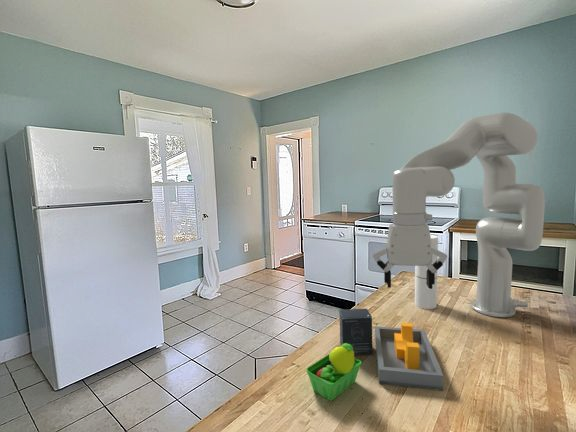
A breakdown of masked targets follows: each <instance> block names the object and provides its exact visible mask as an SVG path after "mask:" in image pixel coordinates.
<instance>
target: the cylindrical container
mask: <svg viewBox="0 0 576 432" xmlns="http://www.w3.org/2000/svg"><path fill="white" fill-rule="evenodd" d="M430 237H431V247H432V248H434V249H436V250H439V236H438V235H435V234H430ZM438 258H439V257H438V256H436V255H434V254H432V262H431V264H434V263H435V262H436V261H437V260H438ZM427 269H428V268H427V266H426V265H425V266H414V306H415V307H417V308H420V309H423V308H424V310H433V309H436V308H437V300H438V299H437V298H438V297H437V296H438V294H437V293H438V271H437V272H436V273H435V284H432V289H430V288H428V286H427V284H426V282H427Z"/></svg>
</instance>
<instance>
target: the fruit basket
mask: <svg viewBox="0 0 576 432" xmlns="http://www.w3.org/2000/svg"><path fill="white" fill-rule="evenodd" d="M361 365H362V361H361V360H360V359H357V358H356V357H355V355H354V351H353V347H352V346H351V345H350V344H347V343H345V344H342V345H340V346H337V347H334V348H333V349H332V350H331V351H330V353H328V354H326V356H324V357H321V358H320V359H319V360H318V361H316V362H315V363H313V364H311V365H309V366H308V367H307V368H306V369H305V370H306V373H307V375H308V377H309V381H310V384H311V387H312V389H313V391H314V392H316V393H318V394H319V395H320V396H322V397H323V398H325V399H327V400H328V401H329V402H332V401H333V400H335V399H336V397H338V396H340V395H341V394H342V393H343V392H344V391H346V390H347V389H348V388H349V387H350V386H352V385H354V384H355V383H356V380H357V376H358V374H359V369H360V368H361Z"/></svg>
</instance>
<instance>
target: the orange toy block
mask: <svg viewBox="0 0 576 432" xmlns="http://www.w3.org/2000/svg"><path fill="white" fill-rule="evenodd" d="M400 328H401V334H399V333H394V346H395V351H396V356H397V358H404V360H405V364H406V369H412V370H419V351H420V347H419V344H418V343H413V329H414V328H413V324H412V322H400Z"/></svg>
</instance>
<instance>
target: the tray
mask: <svg viewBox="0 0 576 432" xmlns="http://www.w3.org/2000/svg"><path fill="white" fill-rule="evenodd" d="M394 333H399V334H401V327H390V326H378V325H377V326H376V325H375V326H374V343H375V344H374V346H375V354H376V355H375V356H376V367H377V375H378V376H377V378H378V385H379V384H380V385H387V386H397V387H406V388H414V389H424V390H433V391H442V392H443V391H444V374H443V372H442V369H441V366H440V364H439V361H438V359H437V357H436V355H435V352H434V350H433V348H432V345H431V342H430V340H429V338H428V335H427V333H426V331H425V329H421V328H420V329H419V328H418V329H417V328H413V343H418V344H419V347H420V351H419V370H412V369H406V364H405V360H404V358H397V356H396V351H395V346H394Z"/></svg>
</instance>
